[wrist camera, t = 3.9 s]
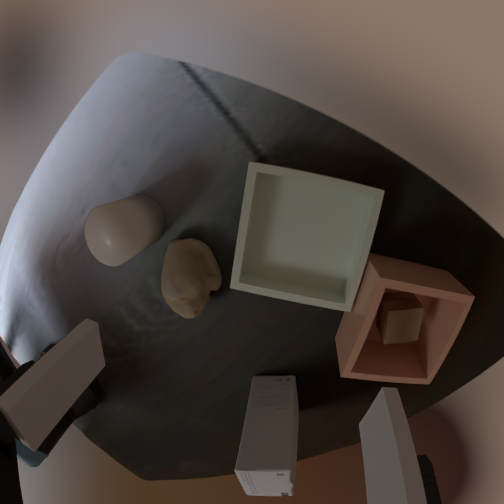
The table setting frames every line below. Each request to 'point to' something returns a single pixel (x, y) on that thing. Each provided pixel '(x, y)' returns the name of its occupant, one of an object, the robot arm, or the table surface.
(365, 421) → the robot arm
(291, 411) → the skincare box
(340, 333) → the pink open box
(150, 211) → the beige rounded capsule
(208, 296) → the stone
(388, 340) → the walnut block
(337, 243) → the green dish
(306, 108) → the table surface
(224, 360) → the table surface
